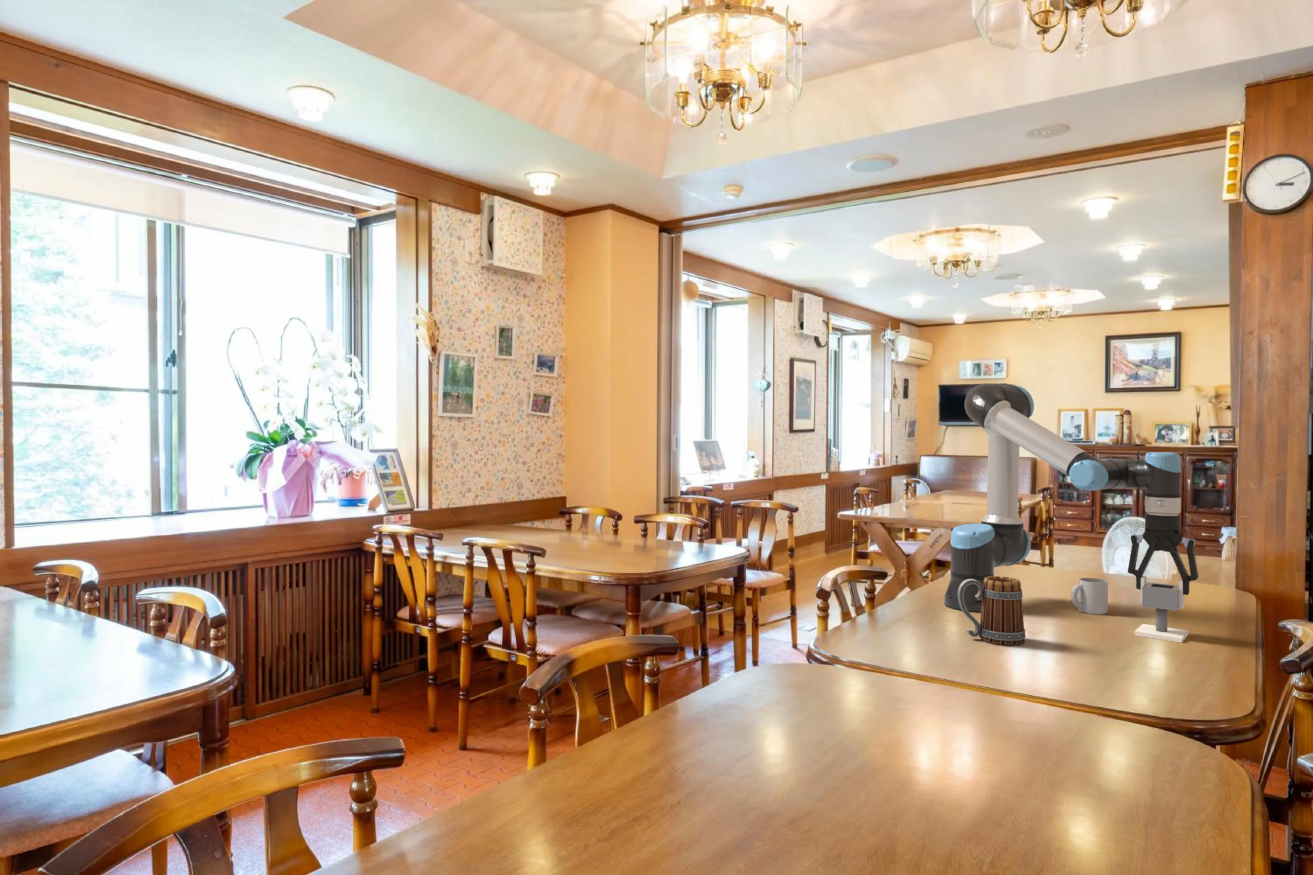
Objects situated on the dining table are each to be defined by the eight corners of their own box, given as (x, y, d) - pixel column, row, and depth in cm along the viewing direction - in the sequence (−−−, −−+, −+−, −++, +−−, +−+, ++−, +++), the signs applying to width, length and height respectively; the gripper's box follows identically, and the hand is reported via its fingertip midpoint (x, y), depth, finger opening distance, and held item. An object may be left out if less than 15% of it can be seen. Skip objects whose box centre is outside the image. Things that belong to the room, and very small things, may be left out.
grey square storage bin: (1142, 606, 198) (1142, 586, 198) (1148, 601, 203) (1148, 582, 203) (1177, 610, 193) (1177, 590, 193) (1182, 605, 198) (1182, 585, 198)
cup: (1113, 614, 220) (1113, 582, 219) (1079, 615, 219) (1079, 583, 219) (1097, 608, 227) (1097, 577, 227) (1063, 609, 226) (1064, 578, 226)
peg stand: (1134, 635, 198) (1134, 598, 198) (1142, 627, 205) (1142, 592, 205) (1181, 642, 191) (1182, 604, 191) (1188, 634, 199) (1188, 597, 199)
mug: (1016, 635, 198) (1016, 575, 198) (1032, 646, 188) (1032, 583, 188) (952, 633, 200) (952, 574, 200) (964, 644, 189) (964, 582, 189)
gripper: (1113, 512, 202) (1113, 601, 202) (1209, 518, 188) (1209, 613, 189) (1120, 509, 207) (1119, 596, 208) (1214, 515, 194) (1213, 608, 194)
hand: (1162, 604), depth 198 cm, fingers closed on grey square storage bin, 7 cm apart
